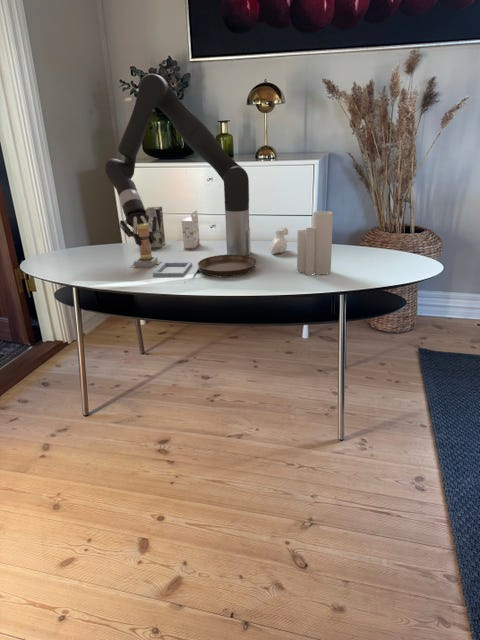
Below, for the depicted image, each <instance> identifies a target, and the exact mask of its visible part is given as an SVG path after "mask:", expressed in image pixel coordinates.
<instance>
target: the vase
mask: <svg viewBox="0 0 480 640" xmlns="http://www.w3.org/2000/svg"><path fill="white" fill-rule="evenodd" d="M333 219H334V212H333V211H328V210H319V211H313V212H312V227H307V228H306V229H299V230H297V241H296V242H297V248H296V249H297V251H296V252H297V255H296V256H297V257H296V259H297V260H296V272H297V271H298V272H297V273H299V272H302V273H301V274H305V275H306V274H307V275H306V276H313V275H312V274H314V273H315V274H314V275H316V274H327V273H330V272H332V248H333V221H334V220H333ZM330 274H331V273H330ZM327 275H328V274H327Z"/></svg>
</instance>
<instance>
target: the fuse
mask: <svg viewBox="0 0 480 640" xmlns="http://www.w3.org/2000/svg"><path fill="white" fill-rule="evenodd" d="M137 234H138V235H139V238H140V240H141V246H138V248H139V255H140V256H139V257H140V258H141V259H150V258H152V257H153V254H152V247H151V245H150V236H149V226H148V224H147V223H141V224H137Z"/></svg>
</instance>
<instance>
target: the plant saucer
mask: <svg viewBox="0 0 480 640" xmlns="http://www.w3.org/2000/svg"><path fill="white" fill-rule="evenodd" d="M257 262H258V261H257V259H255V258H254V257H252V256H250V255H228V254H219V255H213V256H209V257H204V258H203V259H201V260H200V261H198V262H197V266H198V267H199V269H200V270H201V271H202V272H203V273H204V274H206V275H207V276H211V277H219V278H220V277H222V278H223V277H224V278H227V277H230V276H231V277H237V276H238V275H239V276H243V275H246V274H248V273H249V272H251V271H252V270H253V269H254V268H255V266H256V265H257Z"/></svg>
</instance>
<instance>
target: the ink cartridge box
mask: <svg viewBox="0 0 480 640" xmlns="http://www.w3.org/2000/svg"><path fill="white" fill-rule="evenodd" d="M180 222H181V231H182V240H183V242H182V243H183V249H195V248H196V247H198V246H199V245H200V244H201V243H200V242H201V241H200V229H199V227H200V226H199V216H198V211H197V209H196V210H194V211H193V212H191V213H190V217H186V218H184V219H182V220H181V221H180Z"/></svg>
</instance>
